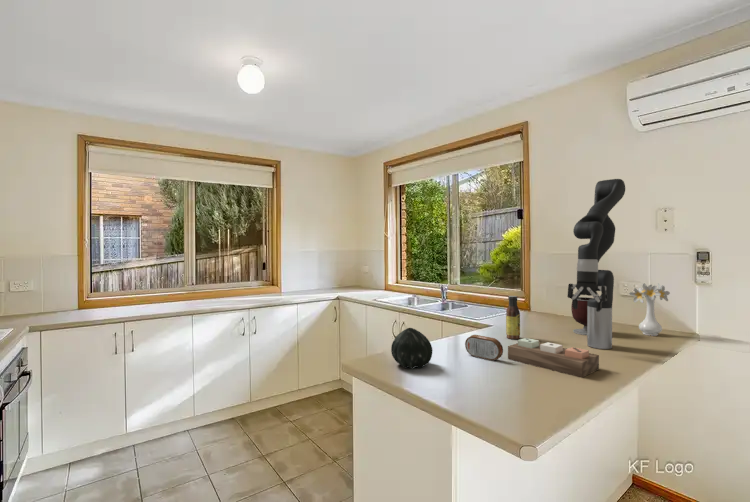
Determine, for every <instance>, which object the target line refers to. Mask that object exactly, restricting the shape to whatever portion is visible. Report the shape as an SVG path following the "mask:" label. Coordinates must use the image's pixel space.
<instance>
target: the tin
mask: <svg viewBox="0 0 750 502" xmlns="http://www.w3.org/2000/svg"><path fill="white" fill-rule="evenodd" d="M464 345H465V351H466V352H467V354H469V355H470V356H472V357H474V356H475V358H478V357H479V359H484V360H488V361H497V360H498V359H500V358H502V356H503V353H504V348H503V345H502V343H501V342H500V341H499V339H498V338H497V339H496V338H495V337H489V336H484V335H478V334H471V335H470V336H469V337H467V338H466V340H465V342H464Z"/></svg>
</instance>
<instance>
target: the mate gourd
mask: <svg viewBox="0 0 750 502" xmlns="http://www.w3.org/2000/svg"><path fill="white" fill-rule="evenodd" d="M574 295H575V293H573V296H574ZM592 298H593V297H590V296H589V297H587V296H582V297H581V296H579V297H578V298H577V300H578V308H577V309H574V307H572V304H571V315H572V318H573V320H574V321H575V322H576V323H578V324H581V325H582V326H583V327H582V328H576V329H575V328H574V329H573V330H572V331H573V333H574V334H576V335H577V334H578V335H583V336H587V314H588V313H587V305H588V300H589V299H592Z"/></svg>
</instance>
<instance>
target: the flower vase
mask: <svg viewBox="0 0 750 502" xmlns="http://www.w3.org/2000/svg"><path fill="white" fill-rule="evenodd" d="M657 284H658V285H653V284H649V285H647V284H646V283H642V285H641V286H642V287H639V288H636V287H635V288H634V289H633V291H634V292H632V291H630V292H629V295H630V296H632V297H633V302H634V303H638V301H639V302H640V303H642V304H644V298H645V301H646V311H645V314H646V315H645V317H644V319H643V321H640V323H639V325H638V329H639V330H640V331H641V332H642V334H643V335H645V336H650V335H651V337H652V336H653V337H654V336H655V337H656V336H657V337H658V335H659V333H662V331H663V326H662V325H661V324H660V322H658V320H657V318H656V315H655V301H656V298H657V296H659V300H660V301H662V300H665V301H666V302H669V299H668V298H669V297H668V296H670V294H671V293H670V291H668V290H666V287H665V285H660V283H657ZM657 286H658V287H657ZM643 297H644V298H643Z"/></svg>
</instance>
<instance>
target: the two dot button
mask: <svg viewBox="0 0 750 502" xmlns="http://www.w3.org/2000/svg"><path fill="white" fill-rule="evenodd" d="M517 343H518V346H523V347H527V348H535V347H538V346H539V343H540V340H538V339H532V338H528V337H524V338H519V339H517Z"/></svg>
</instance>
